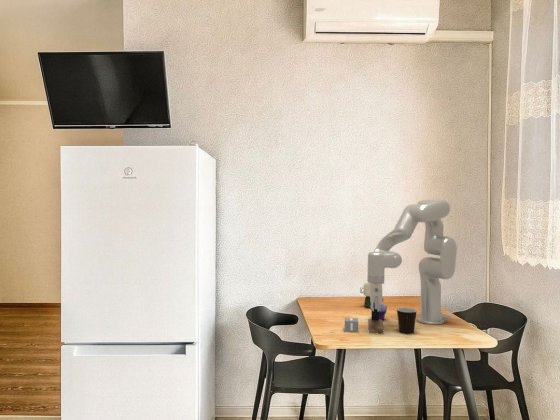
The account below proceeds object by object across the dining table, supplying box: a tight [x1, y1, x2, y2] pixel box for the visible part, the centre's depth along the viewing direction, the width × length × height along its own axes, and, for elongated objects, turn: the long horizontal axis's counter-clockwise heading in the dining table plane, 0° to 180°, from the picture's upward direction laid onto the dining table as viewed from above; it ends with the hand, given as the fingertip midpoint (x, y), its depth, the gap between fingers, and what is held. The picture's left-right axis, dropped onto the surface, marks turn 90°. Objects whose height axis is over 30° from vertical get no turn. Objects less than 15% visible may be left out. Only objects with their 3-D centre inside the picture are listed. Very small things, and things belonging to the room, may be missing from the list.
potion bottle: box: [370, 297, 388, 322], centre depth 224 cm, size 9×9×12 cm
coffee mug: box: [396, 307, 418, 335], centre depth 200 cm, size 12×9×10 cm
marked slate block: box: [344, 317, 359, 333], centre depth 204 cm, size 6×6×5 cm
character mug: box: [359, 282, 371, 309], centre depth 250 cm, size 11×7×13 cm, turn 88°
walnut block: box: [367, 318, 384, 335], centre depth 202 cm, size 6×6×5 cm
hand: (375, 319), depth 202 cm, fingers closed
